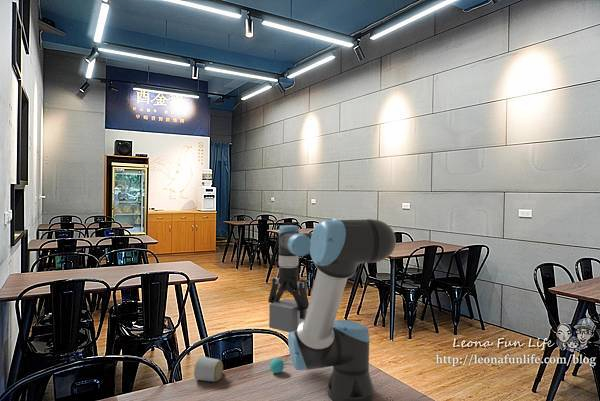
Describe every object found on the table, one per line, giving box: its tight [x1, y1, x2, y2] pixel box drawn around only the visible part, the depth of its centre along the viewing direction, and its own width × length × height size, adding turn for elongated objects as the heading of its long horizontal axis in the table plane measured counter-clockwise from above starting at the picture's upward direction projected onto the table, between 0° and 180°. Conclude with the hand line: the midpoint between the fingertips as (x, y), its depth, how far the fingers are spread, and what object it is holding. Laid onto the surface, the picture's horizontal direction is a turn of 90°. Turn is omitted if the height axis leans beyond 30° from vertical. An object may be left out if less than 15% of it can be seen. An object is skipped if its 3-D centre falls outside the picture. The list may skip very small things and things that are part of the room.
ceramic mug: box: [193, 356, 224, 383], centre depth 141 cm, size 11×8×8 cm
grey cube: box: [268, 298, 307, 334], centre depth 151 cm, size 10×10×9 cm
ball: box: [269, 358, 285, 374], centre depth 145 cm, size 5×5×5 cm
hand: (288, 324), depth 151 cm, fingers closed on grey cube, 10 cm apart
